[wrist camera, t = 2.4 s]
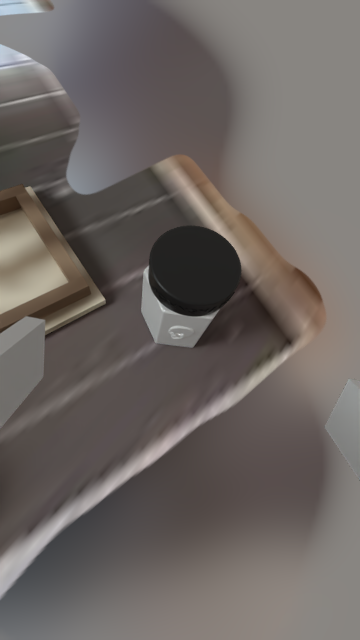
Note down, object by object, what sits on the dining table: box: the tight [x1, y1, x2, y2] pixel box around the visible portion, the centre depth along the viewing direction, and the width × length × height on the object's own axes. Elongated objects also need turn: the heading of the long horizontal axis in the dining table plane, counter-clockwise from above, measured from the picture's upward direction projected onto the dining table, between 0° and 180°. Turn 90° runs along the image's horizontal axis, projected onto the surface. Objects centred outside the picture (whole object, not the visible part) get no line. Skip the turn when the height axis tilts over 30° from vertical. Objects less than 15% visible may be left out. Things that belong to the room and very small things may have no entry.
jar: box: [141, 226, 241, 348], centre depth 29 cm, size 9×8×12 cm
